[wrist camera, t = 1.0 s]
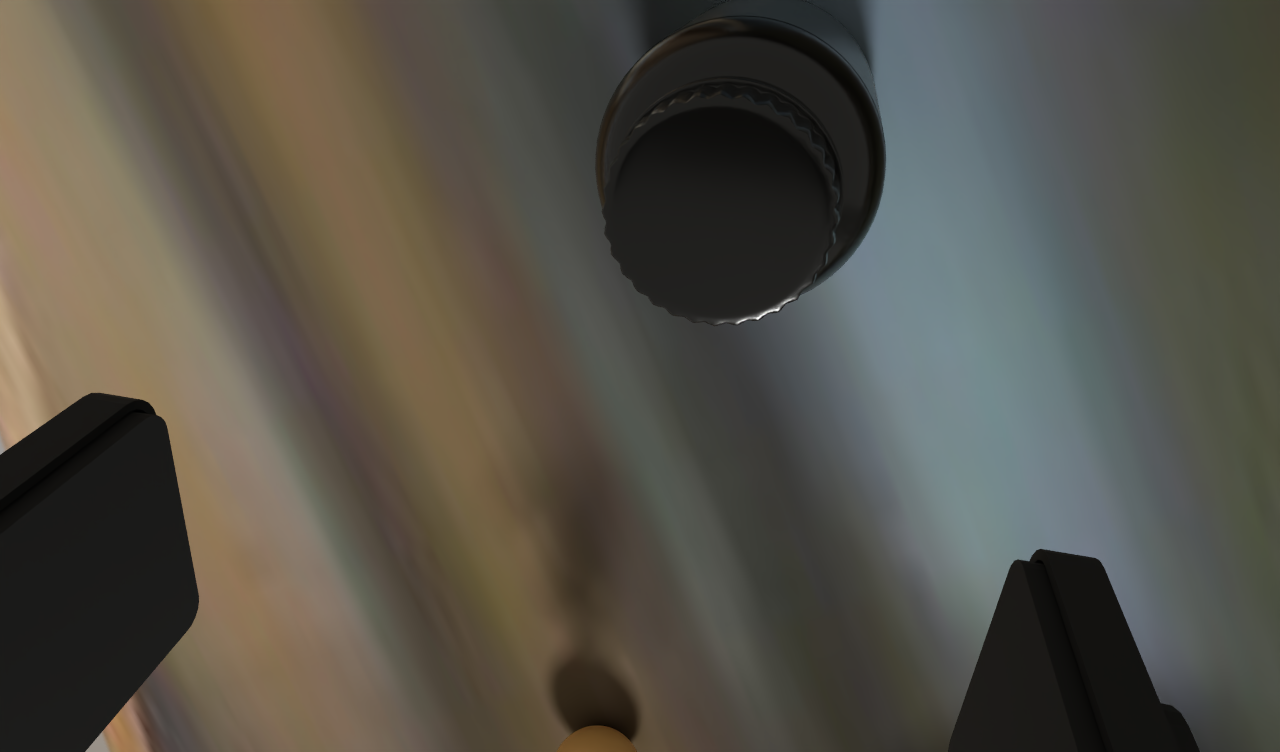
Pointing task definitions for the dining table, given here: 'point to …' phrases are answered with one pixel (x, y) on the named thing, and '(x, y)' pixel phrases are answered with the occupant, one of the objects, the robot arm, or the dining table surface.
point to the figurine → (596, 741)
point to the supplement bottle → (741, 160)
